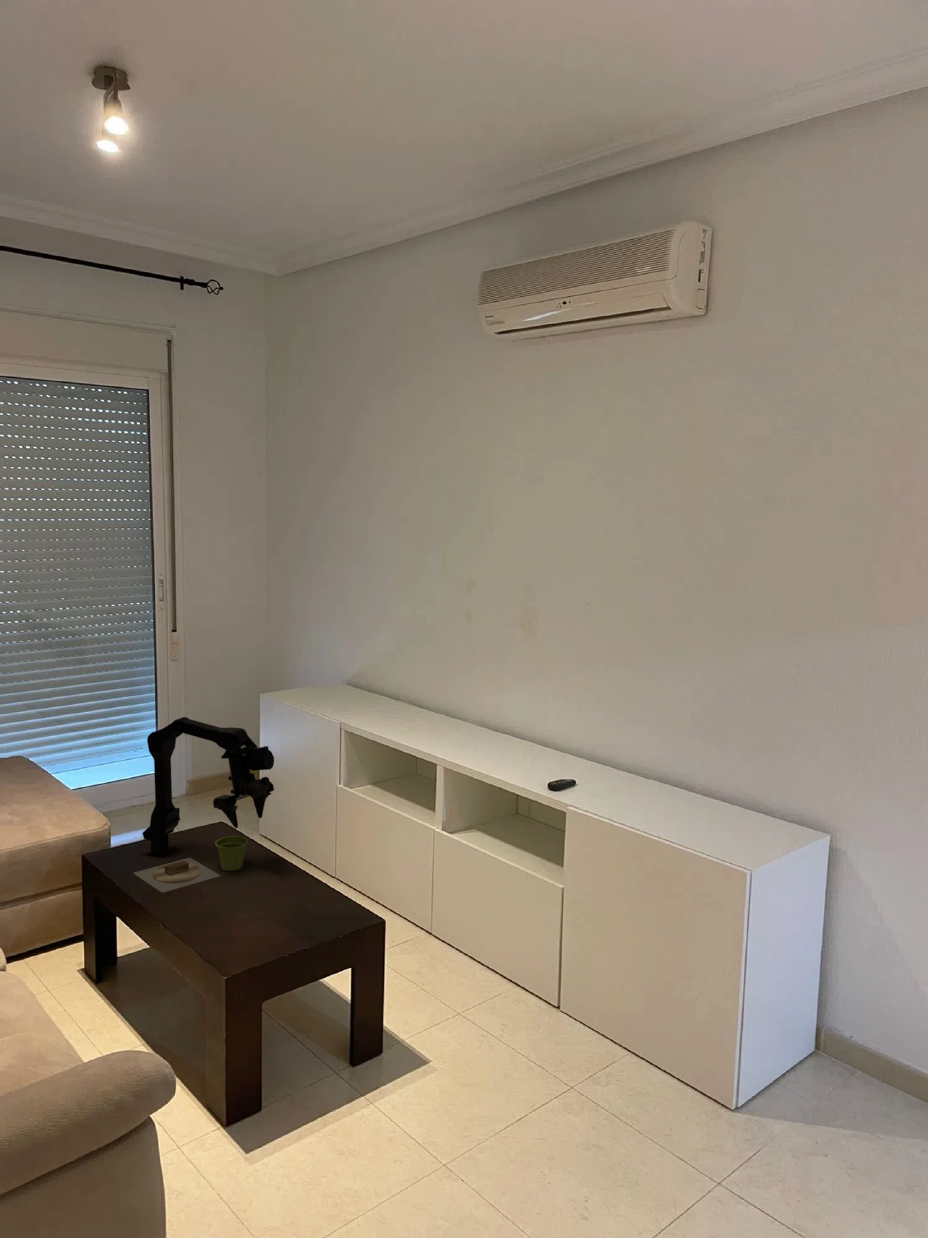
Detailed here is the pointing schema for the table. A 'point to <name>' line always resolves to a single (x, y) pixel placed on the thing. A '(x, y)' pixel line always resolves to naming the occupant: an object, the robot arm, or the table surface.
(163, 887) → the mat
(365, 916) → the table surface
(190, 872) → the lid
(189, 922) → the table surface
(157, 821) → the robot arm
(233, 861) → the plant pot
